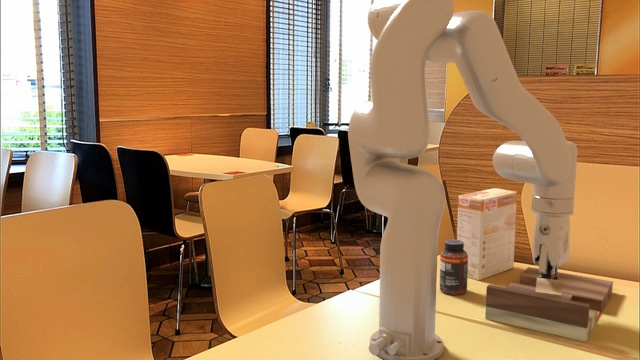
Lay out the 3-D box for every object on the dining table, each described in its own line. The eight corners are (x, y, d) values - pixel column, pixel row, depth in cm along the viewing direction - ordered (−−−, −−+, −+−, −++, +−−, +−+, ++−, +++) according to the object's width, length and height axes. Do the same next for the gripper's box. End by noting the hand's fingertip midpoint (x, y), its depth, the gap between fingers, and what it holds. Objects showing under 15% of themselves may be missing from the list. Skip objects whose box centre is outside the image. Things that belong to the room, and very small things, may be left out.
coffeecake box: (490, 261, 147) (493, 187, 144) (514, 268, 141) (519, 191, 138) (454, 273, 137) (457, 194, 134) (479, 281, 132) (482, 198, 129)
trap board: (585, 341, 100) (588, 306, 99) (485, 318, 110) (486, 286, 109) (612, 292, 124) (614, 263, 123) (527, 277, 135) (529, 250, 134)
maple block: (560, 314, 106) (561, 295, 104) (534, 310, 108) (535, 291, 106) (560, 299, 110) (562, 280, 108) (535, 296, 111) (536, 277, 109)
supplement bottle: (464, 287, 128) (466, 238, 126) (468, 296, 122) (471, 245, 120) (437, 286, 129) (439, 237, 127) (440, 295, 123) (442, 244, 121)
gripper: (564, 214, 101) (558, 312, 104) (581, 200, 113) (575, 288, 116) (521, 209, 105) (516, 303, 108) (542, 196, 117) (537, 281, 120)
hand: (547, 295), depth 112 cm, fingers closed
